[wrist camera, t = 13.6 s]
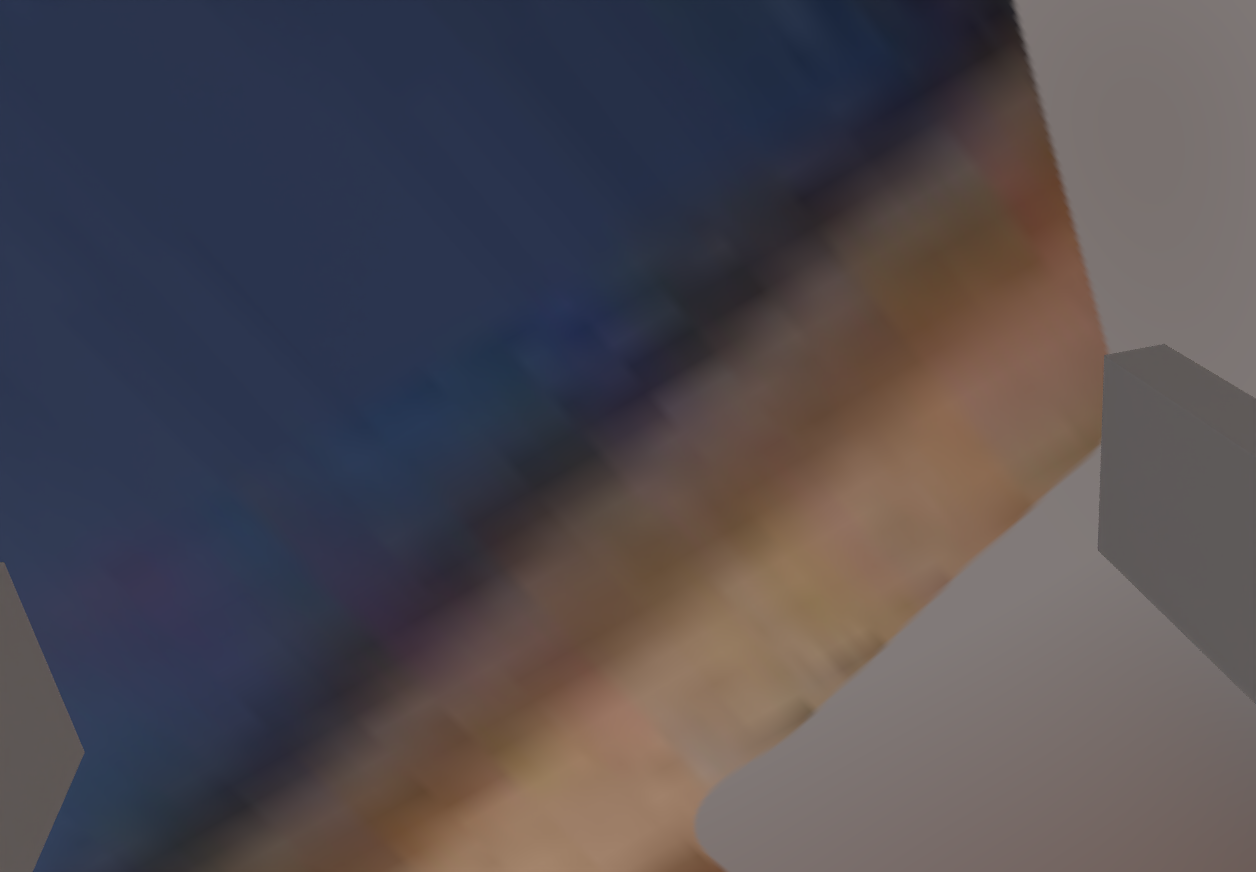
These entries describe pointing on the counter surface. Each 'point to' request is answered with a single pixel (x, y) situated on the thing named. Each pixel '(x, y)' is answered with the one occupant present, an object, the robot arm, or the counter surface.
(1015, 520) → the counter surface
